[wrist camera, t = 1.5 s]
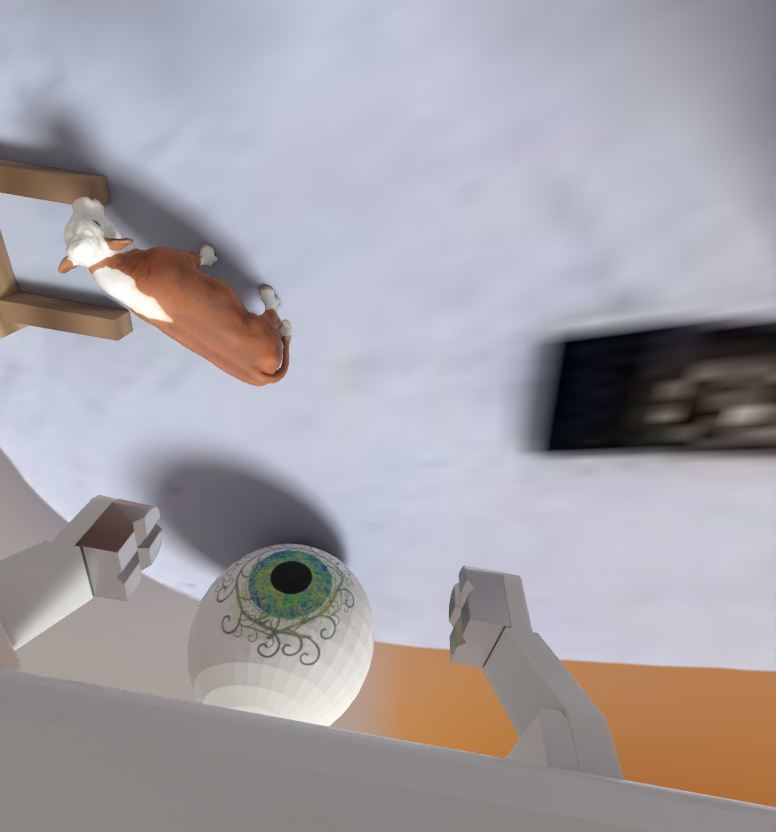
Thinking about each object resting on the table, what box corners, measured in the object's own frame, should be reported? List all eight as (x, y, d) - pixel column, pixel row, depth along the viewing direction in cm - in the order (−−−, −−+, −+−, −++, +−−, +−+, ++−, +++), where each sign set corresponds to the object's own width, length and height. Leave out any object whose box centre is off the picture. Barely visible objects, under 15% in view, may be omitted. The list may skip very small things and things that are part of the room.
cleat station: (102, 157, 27) (23, 164, 22) (135, 343, 34) (79, 381, 29) (-54, 131, 27) (-167, 132, 22) (9, 321, 34) (-68, 355, 29)
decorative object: (406, 539, 41) (389, 719, 29) (357, 627, 49) (327, 799, 37) (245, 486, 40) (153, 651, 27) (222, 586, 48) (142, 749, 35)
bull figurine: (147, 171, 27) (48, 186, 20) (320, 325, 31) (285, 380, 24) (117, 227, 29) (16, 258, 22) (283, 365, 33) (241, 427, 26)
